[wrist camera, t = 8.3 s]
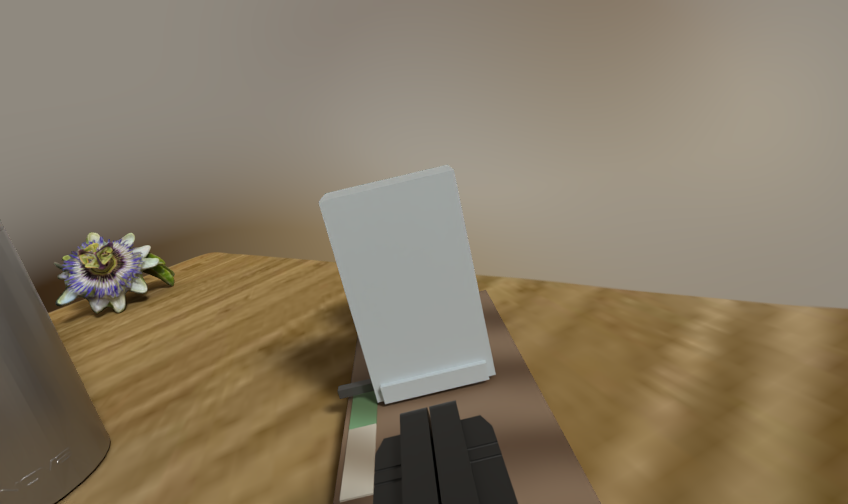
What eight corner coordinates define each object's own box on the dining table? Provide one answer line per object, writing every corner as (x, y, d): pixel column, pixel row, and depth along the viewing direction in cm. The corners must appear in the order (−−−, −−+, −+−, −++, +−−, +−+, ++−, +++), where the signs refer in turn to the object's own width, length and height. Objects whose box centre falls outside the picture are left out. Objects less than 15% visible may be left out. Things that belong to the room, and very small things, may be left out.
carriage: (497, 377, 25) (454, 170, 21) (338, 415, 25) (272, 213, 21) (471, 313, 33) (437, 155, 29) (351, 342, 32) (304, 186, 29)
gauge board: (619, 557, 16) (590, 343, 14) (329, 626, 16) (249, 424, 13) (488, 304, 37) (468, 203, 35) (364, 333, 37) (335, 234, 35)
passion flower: (139, 348, 61) (41, 305, 52) (119, 318, 68) (30, 277, 60) (197, 276, 63) (113, 225, 55) (171, 255, 71) (93, 207, 63)
